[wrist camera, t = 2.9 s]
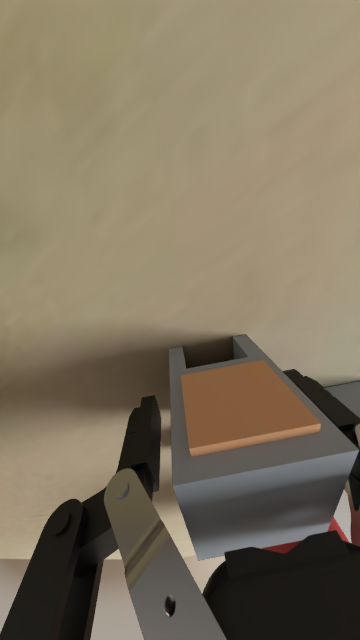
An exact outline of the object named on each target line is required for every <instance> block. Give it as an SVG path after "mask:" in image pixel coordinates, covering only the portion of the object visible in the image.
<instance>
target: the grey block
mask: <svg viewBox="0 0 360 640" xmlns="http://www.w3.org/2000/svg"><path fill="white" fill-rule="evenodd" d="M233 351H234V360H230V361H225V362H219V363H214V364H209V365H204V366H198V367H193V368H188V369H186V363H185V358H184V353H183V348H182V347H176V348H171V349H169V373H170V411H171V449H172V486H173V489H174V492H175V495H176V498H177V501H178V503H179V506H180V509H181V512H182V515H183V518H184V521H185V524H186V527H187V529H188V532H189V535H190V538H191V541H192V544H193V547H194V550H195V552H196V555H197V558H198V561H199V560H204V559H209V558H215V557H220V556H225V554H224V552H227V551H232V550H237V549H242V548H247V547H256V548H265V547H270V546H275V545H281V544H286V543H291V542H296V541H301V540H304V539H305V538H306V537H307V536H309V535H313V534H318V533H323V532H327V531H328V528H329V526H330V523H331V521H332V518H333V515H334V513H335V510H336V508H337V505H338V503H339V500H340V498H341V495H342V493H343V490H344V487H345V485H346V482H347V480H348V477H349V475H350V472H351V470H352V467H353V464H354V462H355V459H356V457H357V454H358V452H359V449H358V448H357V447H356V446H355V445H354V444H353V443H352V442H351V441H350V440H349V439H348V438H347V437H346V436H345V435H344V434H343V433H342V432H341V431H340V430H339V429H338V428H337V427H336V426H335V425H334V424H333V423H332V422H331V421H330V420H329V419H328V418H327V417H326V416H325V415H324V414H323V413H322V411H321V410H320V409H319V408H318V407H317V406H316V405H315V404H314V403H313V402H312V401H311V400H310V399H309V398H308V397H307V396H306V395H305V394H304V393H303V392H302V391H301V390H300V389H299V388H298V387H297V386H296V385H295V384H294V383H293V382H292V381H291V380H290V379H289V378H288V377H287V376H286V375H285V374H284V373H283V372H282V371H281V370H280V369H279V368H278V367H277V366H276V364H275V363H274V362H273V361H272V360H271V359H270V358H269V357H268V356H267V355H266V354H265V353H264V352H263V351H262V350H261V349H260V348H259V347H258V346H257V345H256V344H255V343H254V342H253V341H252V340H251V339H250V338H249V337H248V336H247V335H240V336H235V337H233Z"/></svg>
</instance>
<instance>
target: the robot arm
mask: <svg viewBox="0 0 360 640" xmlns="http://www.w3.org/2000/svg"><path fill="white" fill-rule="evenodd" d="M282 372H283V373H284V374H285V375H286V376H287V377H288V378H289V379H290V380H291V381H292V382H293V383H294V384H295V385H296V386H297V387H298V388H299V389H300V390H301V391H302V392H303V393H304V394H305V395H306V396H307V397H308V398H309V399H310V400H311V401H312V402H313V403H314V404H315V405H316V406H317V407H318V408H319V409H320V410H321V411H322V413H323V414H324V415H325V416H326V417H327V418H328V419H329V420H330V421H331V422H332V423H333V424H334V425H335V426H336V427H337V428H338V429H339V430H340V431H341V432H342V433H343V434H344V435H345V436H346V437H347V438H348V439H349V440H350V441H351V442H352V443H353V444H354V445H355V446H356V447H357V448H358V449H359V452H358V454H357V457H356V459H355V462H354V464H353V467H352V470H351V472H350V475H349V477H348V480H347V482H346V488H347V494H348V500H349V505H350V511H351V540H352V543H349V542H346V541H343V540H342V539H341V537H340V535H339V534H338V532H337V531H336V530H333V531H328V532H323V533H318V534H313V535H309V536H307V537H306V538H305V539H304V540H302V541H301V542H300V543H299V544H297V545H296V546H295V547H294V548H292V549H291V550H290V551H289V552H287V553H279V552H274V551H269V550H265V549H260V548H256V547H247V548H242V549H237V550H232V551H227V552H224V554H225V559H226V561H224V562H223V563H222V564H221V565H220V566H219V567H218V568H217V569H216V570H215V571H214V572H213V574H212V575H211V577H210V578H209V580H208V582H207V584H206V587H205V588H204V591H203V594H202V593H201V591H200V590H199V588H198V586H197V584H196V582H195V580H194V579H193V577H192V575H191V573H190V571H189V569H188V567H187V565H186V564H185V562H184V560H183V558H182V556H181V554H180V553H179V551H178V549H177V547H176V545H175V543H174V541H173V540H172V538H171V536H170V534H169V532H168V530H167V529H166V527H165V525H164V523H163V522H162V520H161V519H160V517H159V515H158V513H157V511H156V509H155V508H154V506H153V504H152V495H153V492H156V491H159V472H160V440H161V416H160V411H159V408H158V404H157V401H156V398H155V395H153V396H147V397H143V398H142V400H141V406H140V407H139V408H134V410H133V412H132V413H131V415H130V417H129V421H128V425H127V429H126V436H125V438H124V443H123V447H122V452H121V456H120V460H119V465H118V469H117V471H116V474H115V475H114V476H113V477H112V479H111V480H110V482H109V483H108V485H107V486H106V487H105V488H104V489H103V490H102V491H100V492H99V493H97V494H95V495H94V496H92V497H90V498H89V499H87V500H85V501H84V502H82V503H81V502H80V501H79V500H77V499H70V500H68V501H66V502H64V503H63V504H61V505H60V506H59V507H58V508H57V509H56V510H55V511H54V512H53V514H52V515H51V516H50V518H49V519H48V521H47V523H46V524H45V526H44V529H43V531H42V533H41V536H40V538H39V541H38V543H37V545H36V548H35V550H34V553H33V555H32V558H31V560H30V563H29V565H28V567H27V570H26V572H25V575H24V577H23V580H22V582H21V585H20V587H19V589H18V592H17V594H16V597H15V599H14V602H13V604H12V607H11V609H10V611H9V614H8V616H7V619H6V621H5V624H4V626H3V628H2V631H1V634H0V640H90V638H91V631H92V625H93V620H94V614H95V608H96V602H97V596H98V590H99V584H100V578H101V573H102V567H103V560H104V559H105V558H106V557H108V556H109V555H111V554H112V553H113V552H115V551H116V550H117V549H119V550H120V553H121V556H122V560H123V563H124V567H125V578H126V583H127V586H128V589H129V593H130V596H131V599H132V603H133V606H134V609H135V612H136V615H137V619H138V622H139V625H140V628H141V631H142V634H143V638H144V640H360V418H359V417H358V416H357V415H356V414H354V413H353V412H352V411H351V410H350V409H349V408H347V407H346V406H345V405H344V404H343V403H341V402H340V401H339V400H338V399H337V398H336V397H333V395H332V394H331V393H330V392H329V391H327V390H325V388H324V387H323V386H322V385H320V384H319V383H318V382H317V381H315V380H313V379H311V378H309V377H307V376H304V377H303V376H302V375H301V374H300V373H299V372H298V371H297V370H295V369H292V370H287V371H282Z"/></svg>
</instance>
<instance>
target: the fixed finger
mask: <svg viewBox="0 0 360 640" xmlns="http://www.w3.org/2000/svg"><path fill="white" fill-rule="evenodd" d="M325 390H327V391H329V392H330V393H331V394H332V395H333V397H336V398H337V399H338V400H339V401H340V402H341V403H343V404H344V405H345V406H346V407H347V408H349V409H350V410H351V411H352V412H353V413H354V414H356V415H357V416H358V417H359V418H360V381H358V382H353V383H347V384H342V385H337V386H332V387H327V388H325ZM344 490H345V491H346V492H347V488H346V485H345V487H344Z"/></svg>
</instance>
